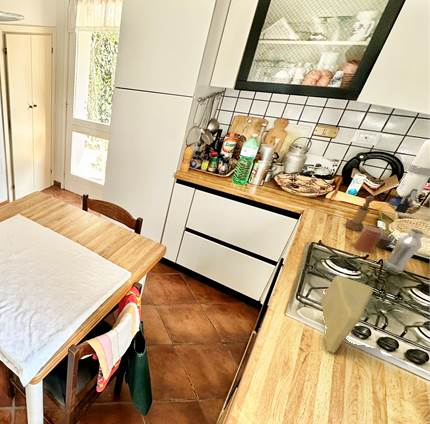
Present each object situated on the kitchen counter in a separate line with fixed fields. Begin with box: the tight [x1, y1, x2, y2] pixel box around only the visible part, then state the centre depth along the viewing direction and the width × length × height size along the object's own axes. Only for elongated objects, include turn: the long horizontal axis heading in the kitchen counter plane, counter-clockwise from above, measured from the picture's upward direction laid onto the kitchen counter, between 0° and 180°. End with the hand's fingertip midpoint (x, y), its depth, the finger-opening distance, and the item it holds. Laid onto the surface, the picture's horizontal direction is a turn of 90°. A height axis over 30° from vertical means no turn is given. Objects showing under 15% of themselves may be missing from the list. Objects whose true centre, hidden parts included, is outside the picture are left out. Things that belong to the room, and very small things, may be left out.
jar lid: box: [389, 197, 414, 210], centre depth 132 cm, size 7×7×2 cm
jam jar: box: [353, 225, 384, 253], centre depth 139 cm, size 7×7×10 cm
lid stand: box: [376, 235, 393, 250], centre depth 143 cm, size 5×5×4 cm
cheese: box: [319, 275, 374, 354], centre depth 96 cm, size 22×10×15 cm, turn 138°
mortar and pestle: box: [344, 195, 375, 232], centre depth 154 cm, size 7×6×18 cm
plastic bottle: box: [382, 228, 425, 273], centre depth 122 cm, size 6×7×20 cm
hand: (398, 208), depth 133 cm, fingers closed on jar lid, 6 cm apart
